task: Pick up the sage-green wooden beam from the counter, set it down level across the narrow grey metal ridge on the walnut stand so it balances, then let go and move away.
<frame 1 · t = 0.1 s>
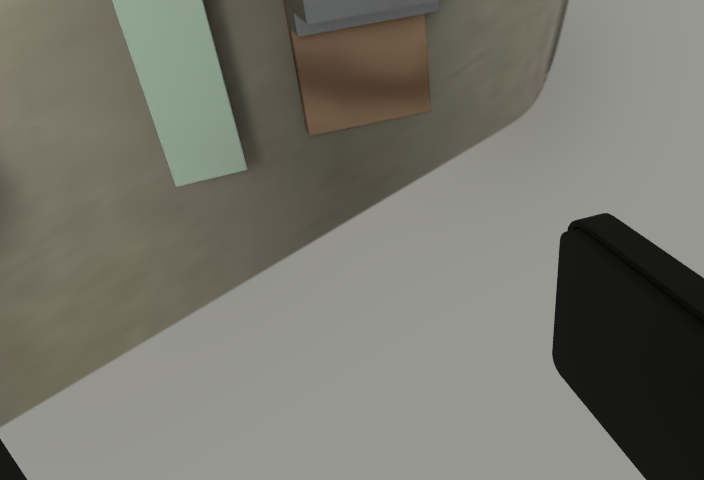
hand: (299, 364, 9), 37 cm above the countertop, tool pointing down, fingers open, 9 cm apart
beam: (165, 0, 39), on the countertop
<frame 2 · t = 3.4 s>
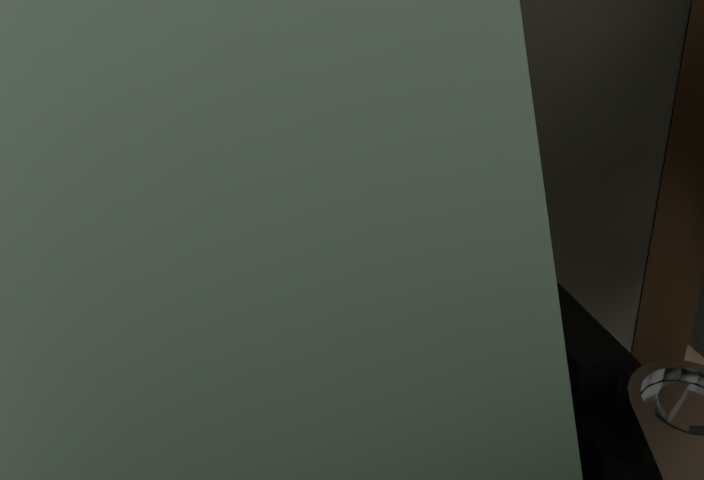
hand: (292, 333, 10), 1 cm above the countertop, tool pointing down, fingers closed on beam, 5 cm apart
beam: (280, 289, 11), on the countertop, touching gripper
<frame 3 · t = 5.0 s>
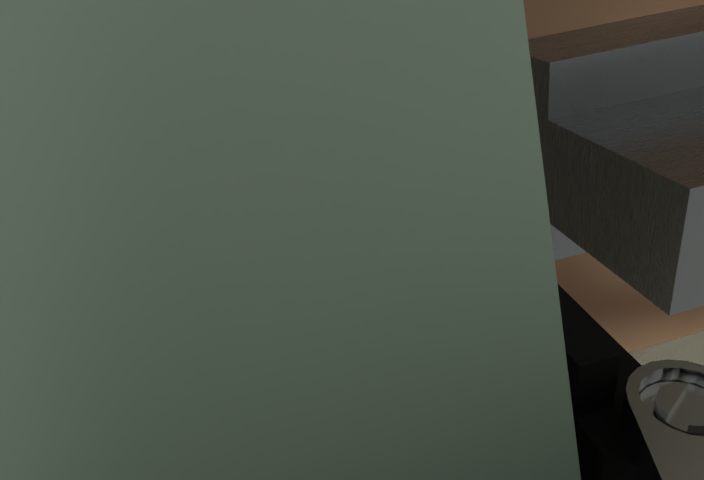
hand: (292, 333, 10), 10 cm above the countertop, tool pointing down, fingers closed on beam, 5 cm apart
stand: (605, 99, 20), on the countertop
beam: (280, 289, 11), point 8 cm above the countertop, touching gripper
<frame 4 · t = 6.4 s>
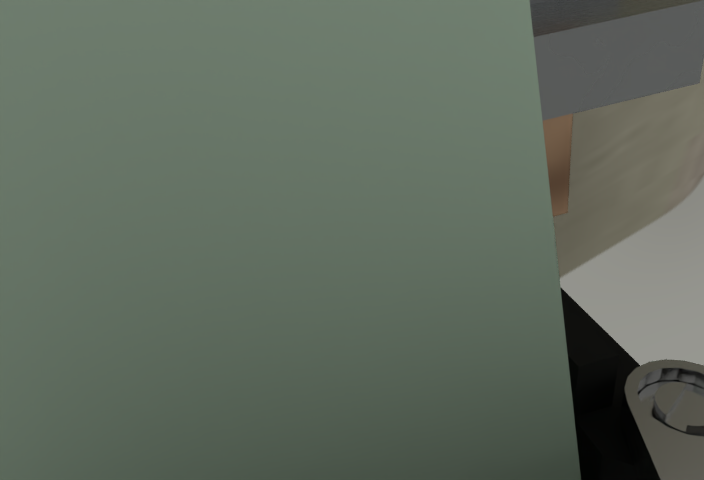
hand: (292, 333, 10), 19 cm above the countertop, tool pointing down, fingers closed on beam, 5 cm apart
stand: (468, 29, 28), on the countertop
beam: (279, 290, 11), point 18 cm above the countertop, touching gripper
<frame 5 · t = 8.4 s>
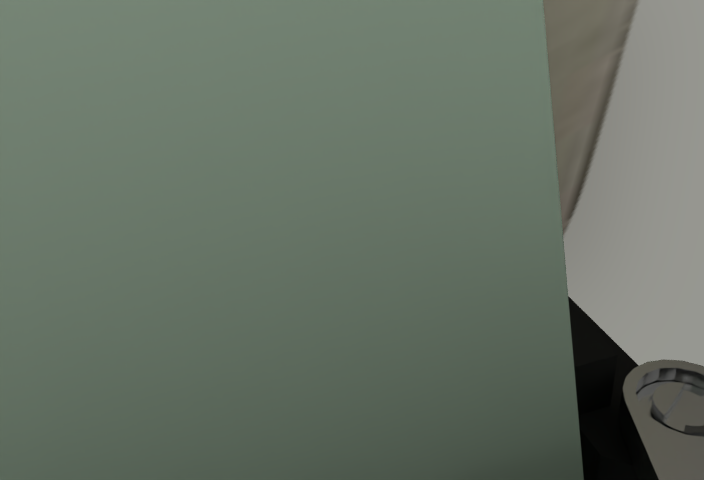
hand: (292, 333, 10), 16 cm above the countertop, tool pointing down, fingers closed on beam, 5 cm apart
beam: (280, 290, 11), point 15 cm above the countertop, touching gripper
when the fingers open (11 cm above the countertop, at t = 9.8 s): beam stays where it is, resting on stand.
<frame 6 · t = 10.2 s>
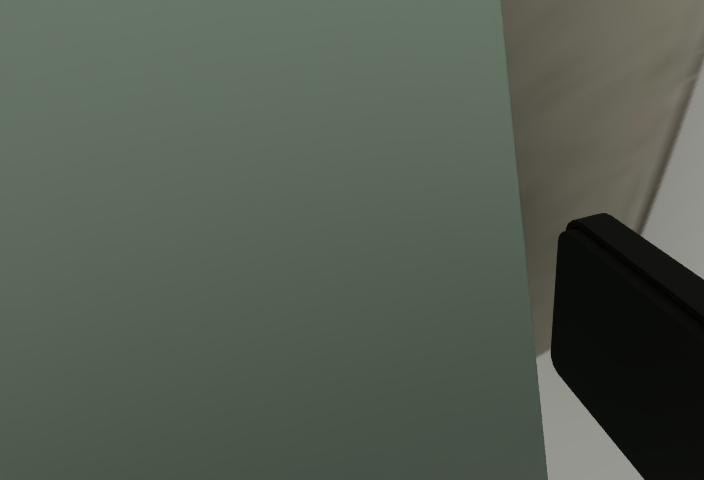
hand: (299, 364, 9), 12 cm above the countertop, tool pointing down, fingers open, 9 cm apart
beam: (273, 266, 11), point 9 cm above the countertop, touching stand
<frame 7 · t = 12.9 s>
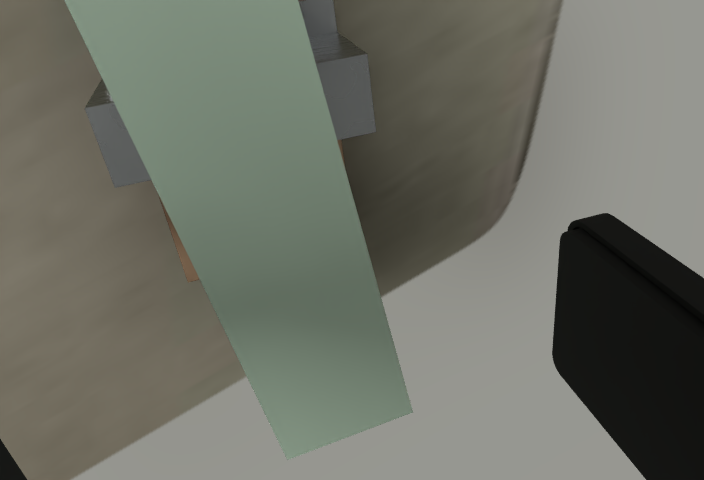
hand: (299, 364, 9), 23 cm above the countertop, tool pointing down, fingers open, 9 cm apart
stand: (227, 66, 29), on the countertop
beam: (238, 116, 21), point 9 cm above the countertop, touching stand
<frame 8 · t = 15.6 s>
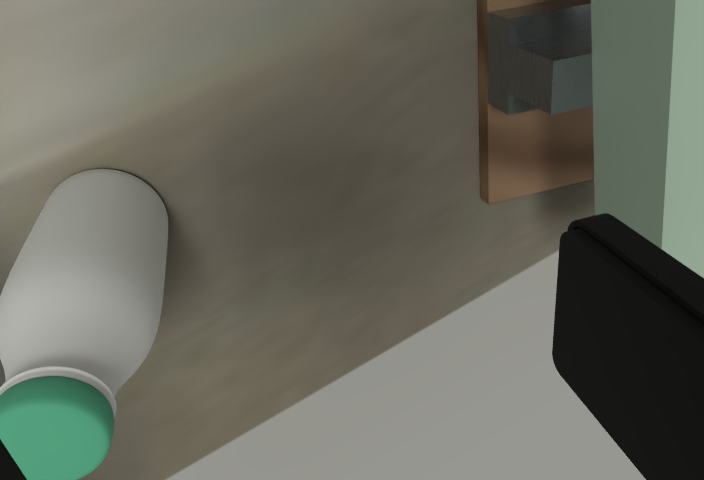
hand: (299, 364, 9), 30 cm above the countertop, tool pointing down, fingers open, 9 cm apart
stand: (543, 42, 40), on the countertop
beam: (632, 68, 32), point 9 cm above the countertop, touching stand
milk bottle: (109, 217, 39), on the countertop
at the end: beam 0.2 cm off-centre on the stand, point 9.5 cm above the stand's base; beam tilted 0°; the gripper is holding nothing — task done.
